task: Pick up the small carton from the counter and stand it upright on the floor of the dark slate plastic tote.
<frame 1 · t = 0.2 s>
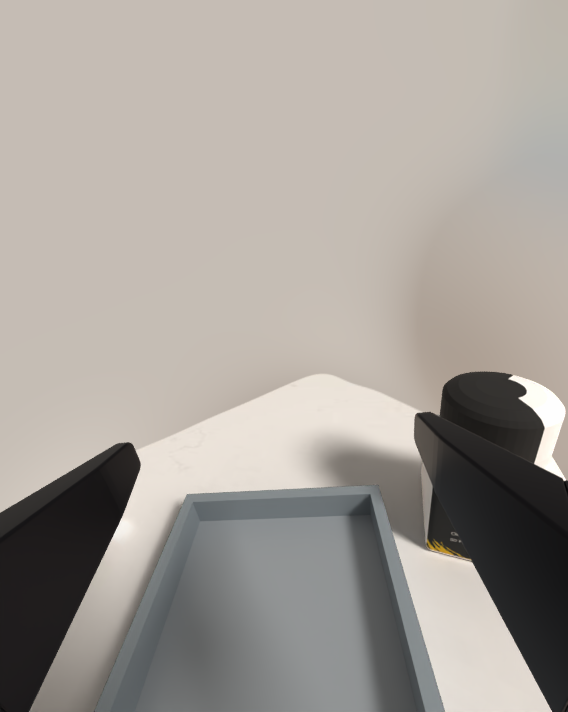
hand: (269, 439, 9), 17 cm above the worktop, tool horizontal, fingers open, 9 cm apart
medicine bottle: (473, 520, 22), on the worktop
tote: (275, 657, 16), on the worktop
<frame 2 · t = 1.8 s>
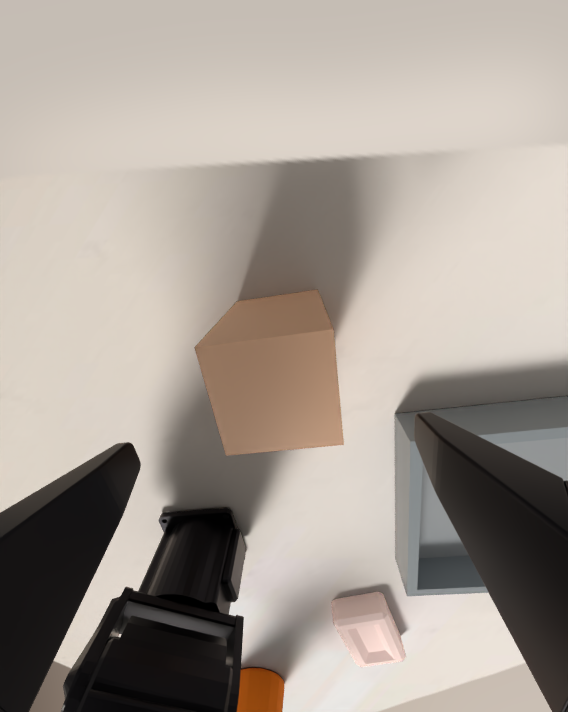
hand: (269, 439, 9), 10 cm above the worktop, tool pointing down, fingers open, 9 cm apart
tote: (511, 486, 22), on the worktop
spray bottle: (269, 682, 37), on the worktop
soap bar: (365, 613, 31), on the worktop
carton: (283, 333, 18), on the worktop
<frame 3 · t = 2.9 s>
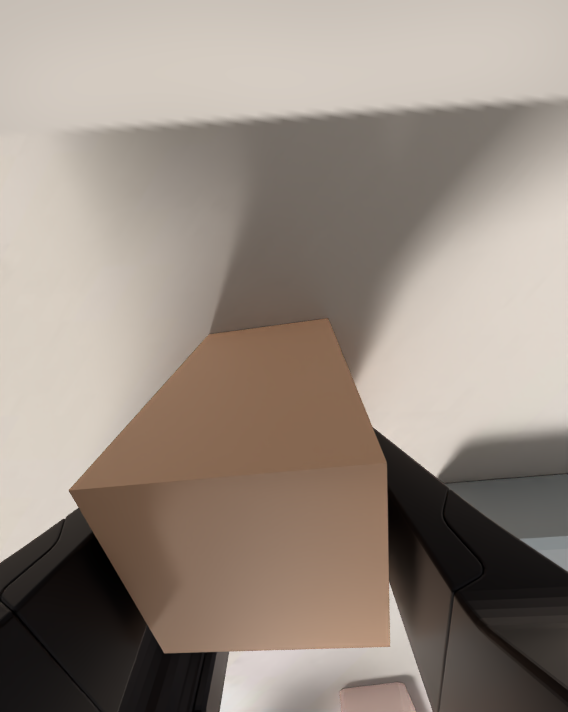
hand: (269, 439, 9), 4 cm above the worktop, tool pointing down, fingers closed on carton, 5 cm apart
soap bar: (381, 699, 25), on the worktop
carton: (276, 379, 13), on the worktop, touching gripper
when the fingers open (6 cm above the worktop, at t = 7.2 s): carton drops 2 cm, resting on tote.
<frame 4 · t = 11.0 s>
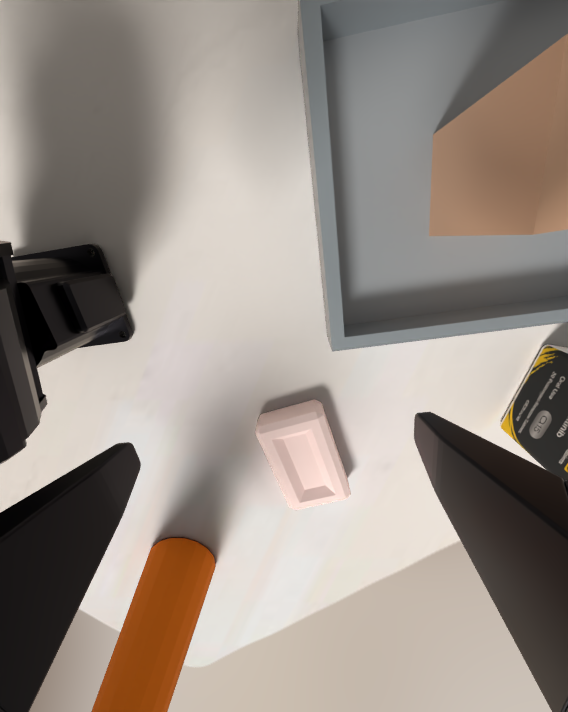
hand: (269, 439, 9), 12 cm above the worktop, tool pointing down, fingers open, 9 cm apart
medicine bottle: (561, 392, 21), on the worktop
tote: (471, 184, 16), on the worktop
spray bottle: (199, 563, 31), on the worktop
soap bar: (304, 445, 25), on the worktop
carton: (477, 180, 16), point 1 cm above the worktop, touching tote
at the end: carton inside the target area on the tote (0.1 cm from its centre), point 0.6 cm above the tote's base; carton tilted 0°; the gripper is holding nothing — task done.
